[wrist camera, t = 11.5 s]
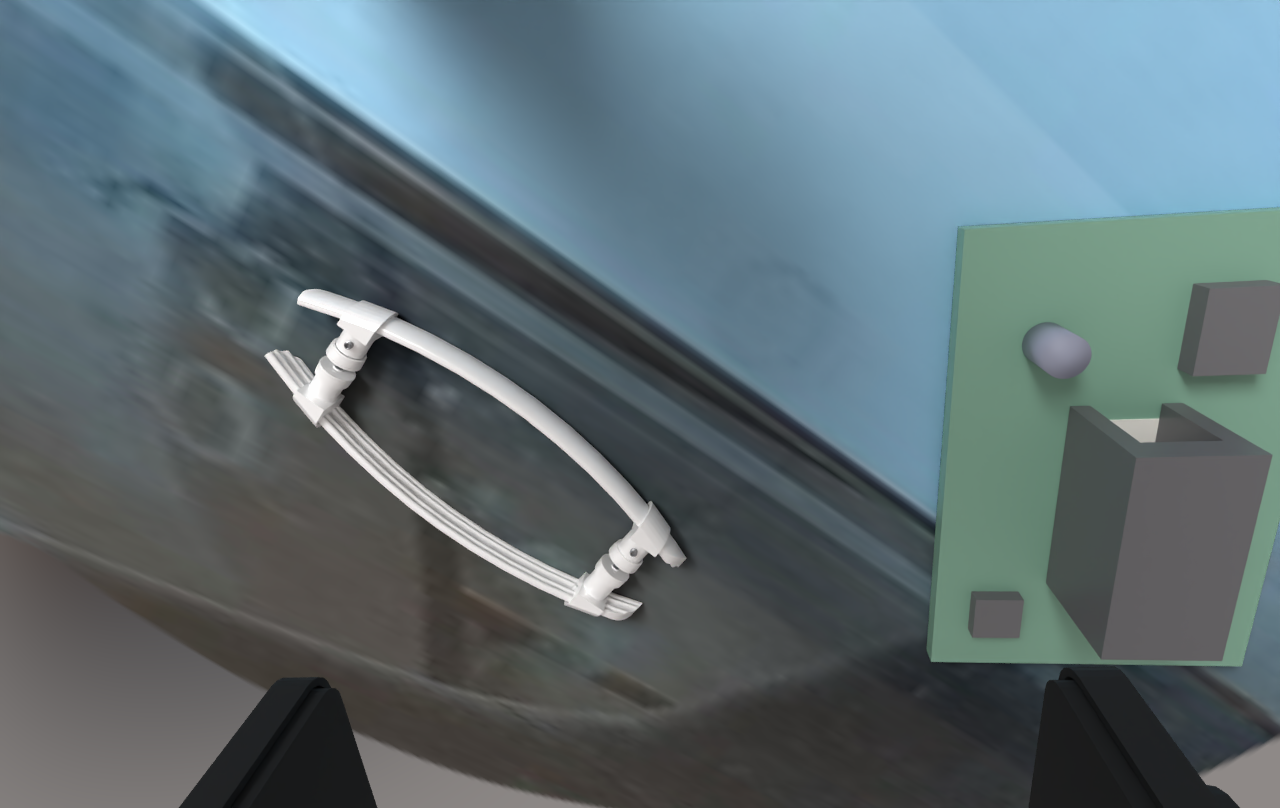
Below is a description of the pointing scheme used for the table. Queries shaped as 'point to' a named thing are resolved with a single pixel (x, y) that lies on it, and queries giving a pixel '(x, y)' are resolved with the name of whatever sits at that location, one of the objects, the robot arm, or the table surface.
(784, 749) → the table surface
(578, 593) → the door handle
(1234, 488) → the block
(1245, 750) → the table surface
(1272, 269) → the board
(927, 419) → the table surface
